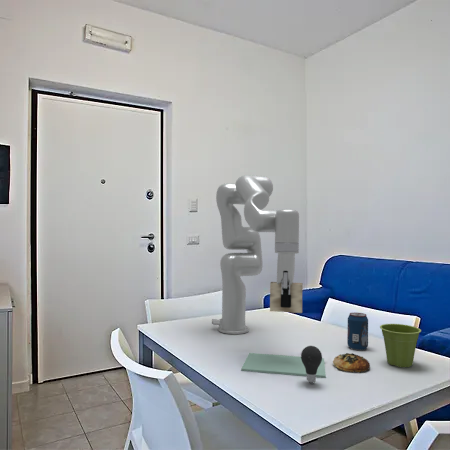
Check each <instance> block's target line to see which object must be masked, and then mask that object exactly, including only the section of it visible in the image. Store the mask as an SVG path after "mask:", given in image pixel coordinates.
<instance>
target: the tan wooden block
mask: <svg viewBox="0 0 450 450" xmlns="http://www.w3.org/2000/svg"><path fill="white" fill-rule="evenodd" d="M281 285H282V282H281V283H279V285H278V284H277V281H270V283H269V286H270V287H269V288H270V289H269V291H270V292H269V293H270V295H269V312H278V313H293V314H294V313H295V314H296V313H297V314H302V313H303V285H304V284H303V283H302V282H293V284H292V285H291V286H290V295H291V307H290V308H285V307H281ZM287 285H289V283H287ZM288 288H289V287H288ZM288 291H289V290H288Z"/></svg>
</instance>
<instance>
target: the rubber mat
mask: <svg viewBox="0 0 450 450" xmlns="http://www.w3.org/2000/svg"><path fill="white" fill-rule="evenodd" d="M240 371H242V372H253V373H262V374H263V373H264V374H276V375H287V376H297V377H298V376H299V377H307V374H306V369H305V366H304V364H303V363H302V360H301V356H297V355H284V354H270V353H269V354H268V353H257V352H248V354H247V357H246V359H245V360H244V362H243V365H242V366H241V370H240ZM326 376H327V373H326V364H325V358H324V357H322V361H321V364H320V365H319V367H318V369H317V373H316V378H321V379H323V378H325V379H326V378H327V377H326Z"/></svg>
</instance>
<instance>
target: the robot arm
mask: <svg viewBox="0 0 450 450" xmlns="http://www.w3.org/2000/svg"><path fill="white" fill-rule="evenodd" d="M273 191H274V184H273V181H272V180H271V179H270V178H269V177H268V176H265V175H254V174H253V175H251V174H245V175H241V176H239V177H238V178H237V179H236V181H235V183H234V182H229V183H228V182H227V183H223V184H221V185H219V186H218V188H217V191H216V193H215V194H216V196H215V197H216V198H215V199H216V200H215V201H216V206H217V210H218V212H219V216H220V221H221V222H220V224H221V226H220V227H221V236H222V237H221V240H222V245H223V247H224V248H225V249H227V250H232V251H238V250H239V251H240V250H241V251H245V250H246V252H229V253H226V254H224V255H222V257H221V258H220V265H219V266H220V271H221V278H222V279H221V280H222V286H221V287H222V288H221V291H222V292H221V295H222V298H221V301H222V302H221V318H219V319H216V318H215V319H214V318H212V319H211V325H213V326H217V325H218V327H217V331H219V332H220V333H222V334H227V335H242V334H246V333H249V330H250V327H249V326H247V325H246V300H247V299H246V297H247V296H246V293H247V292H246V291H247V289H246V285H245V283H244V281H243V280H242V278H241V277H253V276H258V275H260V274H261V273H262V270H263V254H262V253H263V251H262V241H261V235H260V233H274V253H275V254H277V259H276V261H277V262H276V263H277V264H276V265H277V267H276V282H277V284H278V285H279V283H281V282H282V285H281V307H285V308H290V307H291V295H290V286H291V285H292V284H293V283H294V277H295V266H296V264H295V263H296V261H295V260H296V257H295V256H296V254H299V253H300V252H299V251H300V248H299V247H300V245H299V244H300V237H299V236H300V214H299V212H298V210H296V209H265V208H266V207H267V206H268V204H269V202H270V196H272V194H273ZM235 205H244V207H243V216H244V220H245V222H246V223H247V225H248V226H244V225H243V224H242V215H241V213H240V211H239V209H238V208H237V207H235ZM287 283H289V285H287ZM288 287H289V288H288ZM288 290H289V291H288Z"/></svg>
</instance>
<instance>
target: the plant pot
mask: <svg viewBox="0 0 450 450" xmlns="http://www.w3.org/2000/svg"><path fill="white" fill-rule="evenodd" d="M379 328H380V330H381V333H382V336H383V341H384V348H385V354H386V360H387V363H388V364H389V365H390V366H395V367H398V368H406V367H407V368H410V367H412V366H413V364H414V358H415V354H416V353H415V352H416V347H417V341H418V340H419V335H420V333H421V332H422V329H420V328H419V327H417V326H415V325H409V324H403V323H384V324H380V325H379Z"/></svg>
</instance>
